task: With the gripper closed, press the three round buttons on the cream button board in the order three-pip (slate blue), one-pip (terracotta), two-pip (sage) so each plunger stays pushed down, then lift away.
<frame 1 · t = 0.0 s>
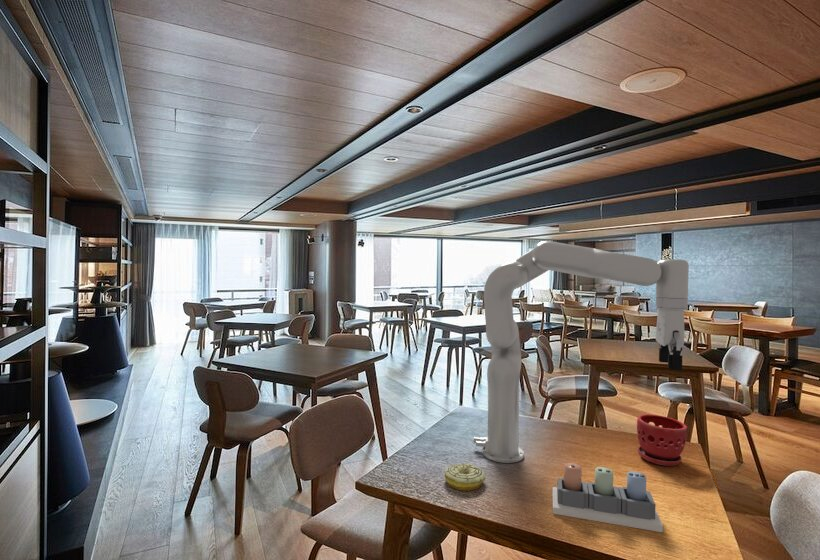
hand: (669, 365, 119), 31 cm above the table, tool pointing down, fingers open, 9 cm apart
plant pot: (660, 460, 131), on the table
button three pip: (636, 485, 101), point 7 cm above the table, slide at 0.0 cm
button board: (603, 510, 103), on the table
button two pip: (603, 480, 103), point 7 cm above the table, slide at 0.0 cm
button one pip: (572, 476, 105), point 7 cm above the table, slide at 0.0 cm
decorated donut: (464, 483, 116), on the table
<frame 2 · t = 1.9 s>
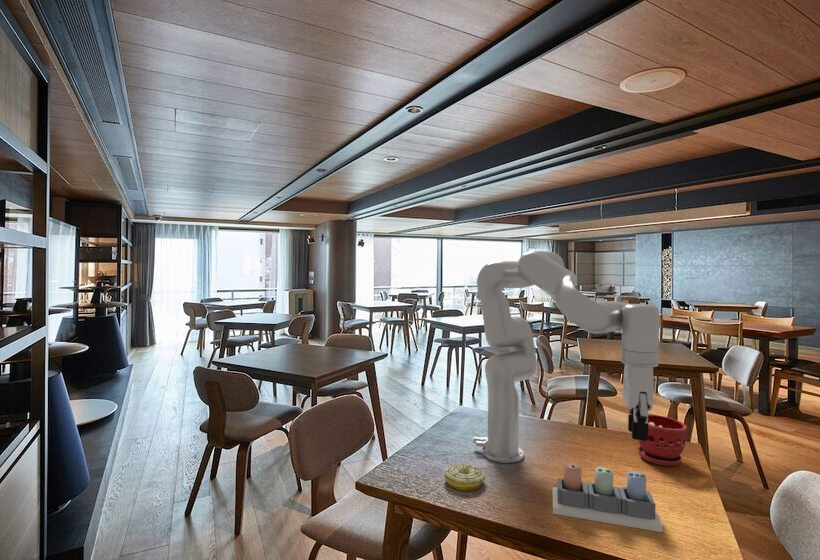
hand: (637, 434, 100), 19 cm above the table, tool pointing down, fingers open, 4 cm apart
nothing on the table moved.
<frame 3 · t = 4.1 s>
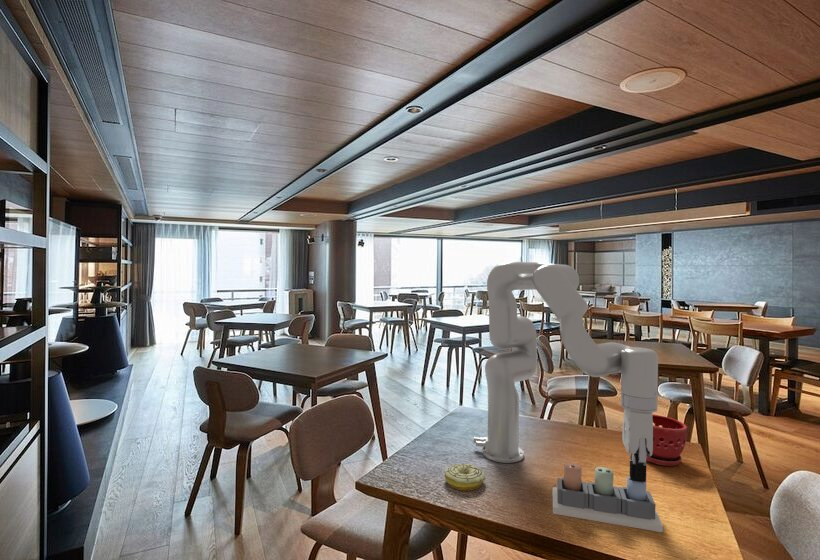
hand: (637, 479, 101), 9 cm above the table, tool pointing down, fingers closed
button three pip: (636, 490, 101), point 6 cm above the table, slide at 1.1 cm, touching gripper
everything else where it was.
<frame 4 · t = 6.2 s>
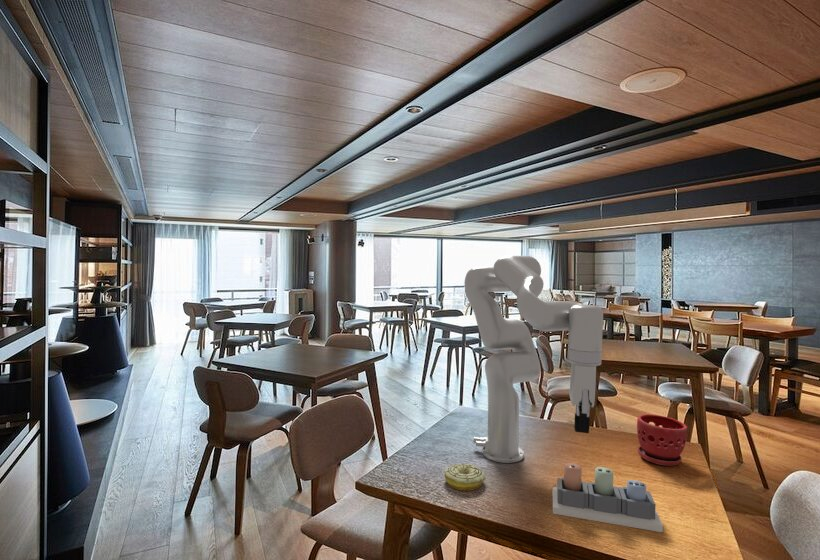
hand: (581, 431, 104), 19 cm above the table, tool pointing down, fingers closed
button three pip: (636, 494, 101), point 5 cm above the table, slide at 2.1 cm
everything else where it was.
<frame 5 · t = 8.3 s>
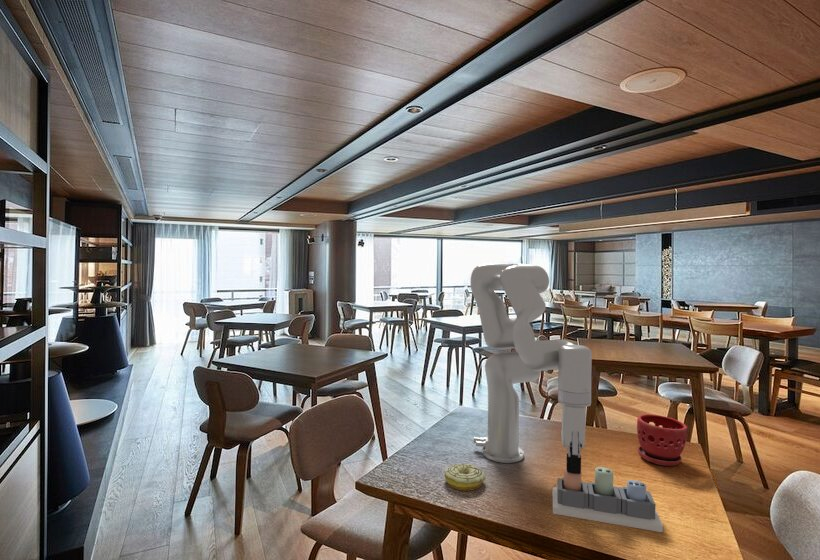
hand: (573, 471, 105), 9 cm above the table, tool pointing down, fingers closed
button one pip: (572, 481, 105), point 6 cm above the table, slide at 1.4 cm, touching gripper
everything else where it was.
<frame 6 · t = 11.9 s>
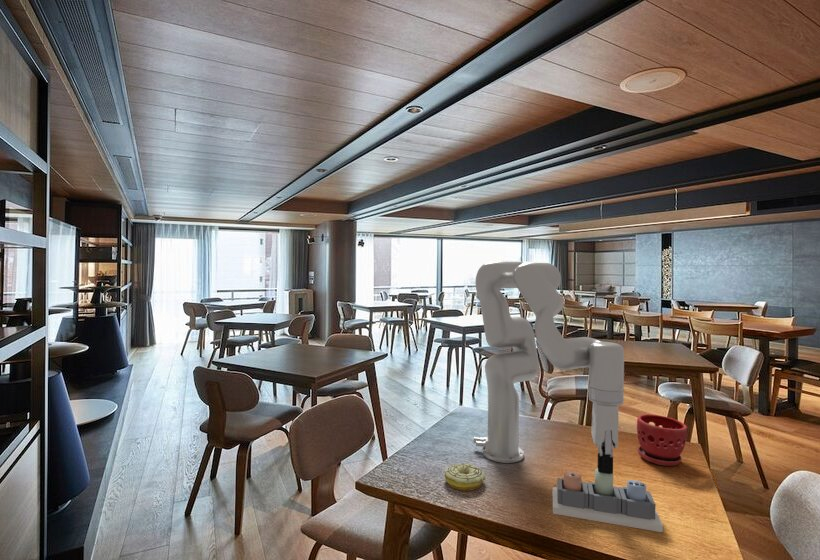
hand: (605, 471, 103), 10 cm above the table, tool pointing down, fingers closed
button two pip: (603, 481, 103), point 7 cm above the table, slide at 0.2 cm, touching gripper
button one pip: (572, 484, 105), point 5 cm above the table, slide at 2.1 cm
everything else where it was.
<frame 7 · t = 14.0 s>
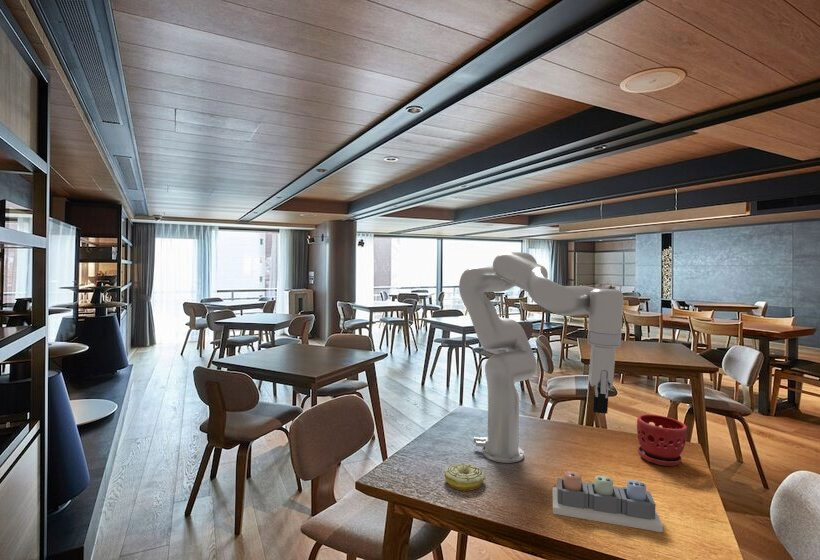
hand: (600, 411, 107), 22 cm above the table, tool pointing down, fingers closed
button two pip: (603, 489, 103), point 5 cm above the table, slide at 2.1 cm
everything else where it was.
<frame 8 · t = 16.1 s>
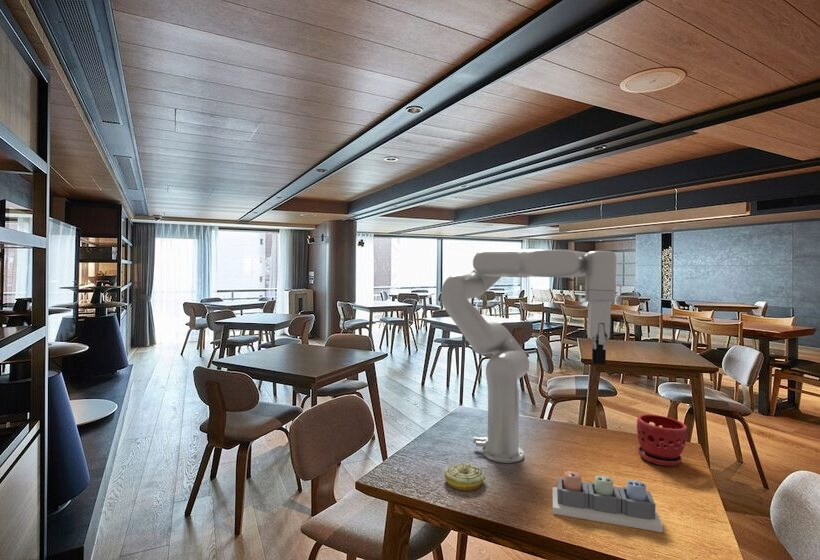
hand: (598, 363, 117), 32 cm above the table, tool pointing down, fingers closed
nothing on the table moved.
at the end: button three pip slide at 2.1 cm; button one pip slide at 2.1 cm; button two pip slide at 2.1 cm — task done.
